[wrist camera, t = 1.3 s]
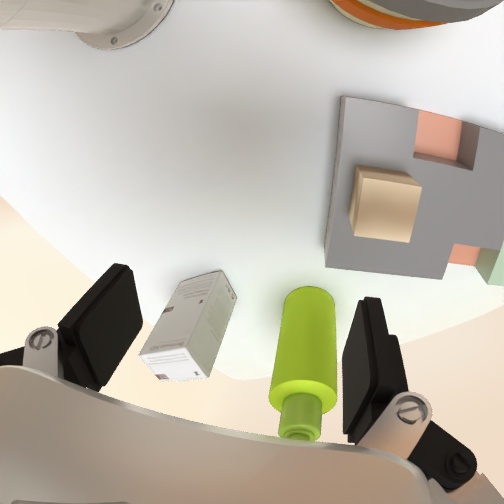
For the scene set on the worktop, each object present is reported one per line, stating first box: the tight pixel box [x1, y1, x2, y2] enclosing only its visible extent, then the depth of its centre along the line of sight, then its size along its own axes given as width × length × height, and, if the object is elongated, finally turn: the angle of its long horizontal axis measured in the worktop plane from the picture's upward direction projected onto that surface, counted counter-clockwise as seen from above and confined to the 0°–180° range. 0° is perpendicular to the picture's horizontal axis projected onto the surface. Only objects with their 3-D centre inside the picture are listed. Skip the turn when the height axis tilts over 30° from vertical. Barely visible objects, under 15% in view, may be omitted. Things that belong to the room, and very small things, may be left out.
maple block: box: [349, 164, 422, 243], centre depth 23 cm, size 4×4×4 cm
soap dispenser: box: [269, 287, 337, 441], centre depth 28 cm, size 6×7×20 cm
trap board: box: [324, 96, 504, 286], centre depth 25 cm, size 15×24×4 cm, turn 89°
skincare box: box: [139, 271, 237, 381], centre depth 32 cm, size 6×4×12 cm
